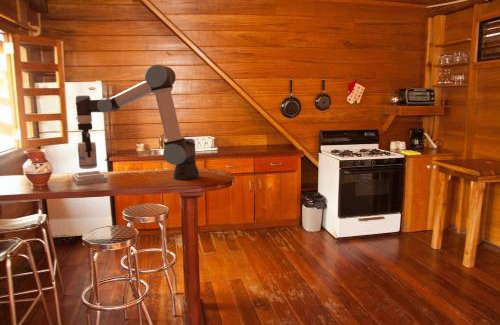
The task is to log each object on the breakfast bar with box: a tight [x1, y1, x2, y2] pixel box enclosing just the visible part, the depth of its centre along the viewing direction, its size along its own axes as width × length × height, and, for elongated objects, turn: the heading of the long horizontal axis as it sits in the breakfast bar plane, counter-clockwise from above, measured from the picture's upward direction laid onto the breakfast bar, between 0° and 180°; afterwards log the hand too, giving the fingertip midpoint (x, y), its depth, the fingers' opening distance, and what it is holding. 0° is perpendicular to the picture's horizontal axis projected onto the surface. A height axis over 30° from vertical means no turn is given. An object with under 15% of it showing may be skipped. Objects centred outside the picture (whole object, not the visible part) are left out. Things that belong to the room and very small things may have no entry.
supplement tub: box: [77, 141, 98, 170], centre depth 225 cm, size 10×10×15 cm
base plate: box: [71, 170, 108, 186], centre depth 227 cm, size 20×16×4 cm
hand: (88, 161), depth 225 cm, fingers closed on supplement tub, 9 cm apart
